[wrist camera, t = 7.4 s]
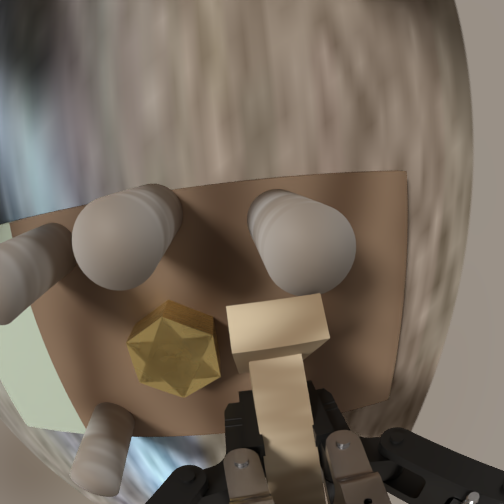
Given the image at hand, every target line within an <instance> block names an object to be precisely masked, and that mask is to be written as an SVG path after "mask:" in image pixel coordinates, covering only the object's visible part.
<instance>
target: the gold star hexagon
mask: <svg viewBox="0 0 504 504" xmlns="http://www.w3.org/2000/svg"><path fill="white" fill-rule="evenodd" d="M126 345H127V348H128V351H129V354H130V357H131V360H132V363H133V366H134V369H135V372H136V374H137V377H138V380H139V383H142V384H145V385H147V386H150V387H153V388H156V389H159V390H161V391H164V392H167V393H170V394H173V395H176V396H179V397H183V398H185V397H187V396H189V395H190V394H192V393H194V392H196V391H197V390H199V389H201V388H202V387H204V386H206V385H208V384H209V383H211V382H213V381H214V380H216V379H218V378H219V377H221V370H220V352H219V347H218V341H217V336H216V330H215V324H214V319H213V316H210V315H208V314H205V313H202V312H200V311H197V310H194V309H192V308H189V307H186V306H184V305H181V304H179V303H176V302H173V301H171V300H167V301H165V302H164V303H163V304H161V305H160V306H159V307H157V308H156V309H154V310H153V311H152V312H150V313H149V314H148V315H146V316H145V317H144V318H142V319H141V320H140V321H138V322H137V323H136V324H135V325H134V327H133V329H132V331H131V333H130V335H129V337H128V340H127V342H126Z"/></svg>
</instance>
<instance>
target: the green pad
mask: <svg viewBox="0 0 504 504" xmlns="http://www.w3.org/2000/svg"><path fill="white" fill-rule="evenodd" d="M15 221H16V220H15ZM11 222H13V221H11ZM9 223H10V222H7V223H3V224H0V243H3V242H5V241H7V240H9V239H11V238H12V234H11V229H10V224H9ZM0 380H1V382H2V384H3V385H4V387H5V389H6V391H7V393H8V395H9V396H10V398H11V400H12V402H13V403H14V405H15V407H16V409H17V410H18V412H19V413H20V415H21V417H22V418H23V420H24V422H25V423H26V425H27V426H30V427H36V428H42V429H49V430H56V431H64V432H72V433H82V434H84V433H85V431H86V428H85V426H84V425H83V423H82V421H81V419H80V418H79V416H78V414H77V412H76V410H75V408H74V407H73V405H72V403H71V401H70V399H69V397H68V395H67V393H66V391H65V389H64V387H63V385H62V383H61V381H60V379H59V376H58V374H57V372H56V370H55V368H54V365H53V363H52V361H51V359H50V356H49V354H48V351H47V349H46V347H45V344H44V342H43V339H42V336H41V334H40V331H39V328H38V326H37V323H36V320H35V317H34V314H33V312H32V309H31V306H29V307H28V308H27V309H26V310H24V311H23V312H22V313H21V314H20V315H19V316H18V317H17V318H15V319H14V320H13V321H12V322H11V323H9V324H7V325H0Z"/></svg>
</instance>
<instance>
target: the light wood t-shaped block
mask: <svg viewBox="0 0 504 504" xmlns="http://www.w3.org/2000/svg"><path fill="white" fill-rule="evenodd" d="M226 310H227V318H228V326H229V334H230V342H231V350H232V355H233V358H234V361H235V364H236V367H237V369H238V372H239V374H241V373H248V372H250V379H251V386H252V392H253V398H254V404H255V410H256V416H257V421H258V427H259V433H260V434H262V436H263V441H264V447H265V455H266V456H263V458H264V465H265V472H266V481H267V486H268V489H269V492H270V494H271V495H272V498H273V501H274V504H326V502H325V495H324V488H323V481H322V474H321V468H320V461H319V454H318V448H317V447H316V446H315V439H314V433H313V427H312V425H314V423H313V417H312V411H311V405H310V399H309V393H308V388H307V382H306V376H305V371H304V365H303V360H304V359H305V358H306V357H308V356H309V355H310V354H312V353H313V352H314V351H315V350H316V349H318V348H319V347H320V346H321V345H323V344H324V343H325V342H326V341H327V340H329V339H330V335H329V331H328V326H327V321H326V317H325V312H324V307H323V303H322V299H321V294H320V293H317V294H311V295H304V296H298V297H291V298H284V299H277V300H270V301H263V302H255V303H248V304H240V305H232V306H226Z"/></svg>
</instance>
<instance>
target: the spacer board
mask: <svg viewBox="0 0 504 504" xmlns="http://www.w3.org/2000/svg"><path fill="white" fill-rule="evenodd" d="M9 224H10V229H11V234H12V238H11V239H9V240H7V241H5V242H3V243H0V325H7V324H9V323H11V322H12V321H13V320H14V319H15V318H17V317H18V316H19V315H20V314H21V313H22V312H23V311H24V310H26V309H27V308H28V307H29V306H31V309H32V312H33V314H34V317H35V320H36V323H37V326H38V328H39V331H40V334H41V336H42V339H43V342H44V344H45V347H46V349H47V351H48V354H49V356H50V359H51V361H52V363H53V365H54V368H55V370H56V372H57V374H58V376H59V379H60V381H61V383H62V385H63V387H64V389H65V391H66V393H67V395H68V397H69V399H70V401H71V403H72V405H73V407H74V408H75V410H76V412H77V414H78V416H79V418H80V419H81V421H82V423H83V425H84V426H85V428H86V431H85V433H84V436H83V439H82V441H81V444H80V446H79V449H78V451H77V454H76V457H75V459H74V462H73V465H72V468H71V470H70V477H71V479H72V480H73V481H74V482H75V483H76V484H77V485H78V486H80V487H81V488H83V489H84V490H86V491H88V492H91V493H93V494H96V495H100V496H106V497H112V496H116V495H117V494H118V493H119V489H120V485H121V480H122V476H123V471H124V467H125V462H126V458H127V454H128V450H129V445H130V441H131V437H132V436H134V437H166V436H192V435H207V434H219V433H225V418H224V411H225V409H226V407H227V405H228V403H237V402H239V391H246V390H252V386H251V379H250V372H248V373H241V374H239V372H238V369H237V367H236V364H235V361H234V358H233V355H232V350H231V342H230V334H229V326H228V318H227V310H226V306H232V305H240V304H248V303H255V302H263V301H270V300H277V299H284V298H291V297H298V296H304V295H311V294H317V293H320V294H321V299H322V303H323V307H324V312H325V317H326V321H327V326H328V331H329V335H330V339H329V340H327V341H326V342H325V343H324V344H323V345H321V346H320V347H319V348H318V349H316V350H315V351H314V352H313V353H312V354H310V355H309V356H308V357H306V358H305V359H304V360H303V365H304V371H305V376H306V381H309V380H311V381H312V383H313V385H314V387H315V389H316V390H317V389H322V388H324V389H326V390H327V391H328V392H330V393H331V394H332V396H333V398H334V400H335V403H336V404H337V406H338V409H339V410H340V412H341V413H343V412H347V411H351V410H355V409H358V408H362V407H365V406H369V405H372V404H376V403H379V402H382V401H386V400H388V399H389V394H390V390H391V384H392V379H393V374H394V368H395V362H396V356H397V350H398V343H399V336H400V328H401V320H402V311H403V301H404V290H405V277H406V259H407V228H408V202H407V171H398V170H397V171H366V172H345V173H327V174H312V175H299V176H287V177H275V178H265V179H255V180H245V181H236V182H227V183H219V184H211V185H203V186H196V187H188V188H181V189H174V190H170V189H169V188H167V187H165V186H163V185H159V184H147V185H143V186H139V187H135V188H132V189H128V190H124V191H121V192H117V193H114V194H110V195H107V196H104V197H100V198H98V199H96V200H94V201H92V202H90V203H89V204H87V205H82V206H77V207H72V208H67V209H63V210H58V211H54V212H49V213H45V214H40V215H36V216H32V217H28V218H23V219H19V220H16V221H13V222H10V223H9ZM167 300H171V301H173V302H176V303H179V304H181V305H184V306H186V307H189V308H192V309H194V310H197V311H200V312H202V313H205V314H208V315H210V316H213V319H214V324H215V330H216V336H217V341H218V347H219V352H220V370H221V377H219V378H218V379H216V380H214V381H213V382H211V383H209V384H208V385H206V386H204V387H202V388H201V389H199V390H197V391H196V392H194V393H192V394H190V395H189V396H187V397H185V398H183V397H179V396H176V395H173V394H170V393H167V392H164V391H161V390H159V389H156V388H153V387H150V386H147V385H145V384H142V383H139V380H138V377H137V374H136V372H135V369H134V366H133V363H132V360H131V357H130V354H129V351H128V348H127V345H126V342H127V340H128V337H129V335H130V333H131V331H132V329H133V327H134V325H135V324H136V323H137V322H138V321H140V320H141V319H142V318H144V317H145V316H146V315H148V314H149V313H150V312H152V311H153V310H154V309H156V308H157V307H159V306H160V305H161V304H163V303H164V302H165V301H167ZM320 468H321V467H320ZM321 474H322V481H323V471H322V468H321Z"/></svg>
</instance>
